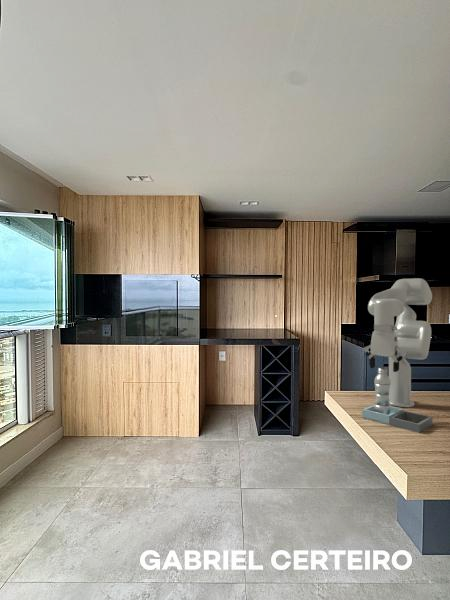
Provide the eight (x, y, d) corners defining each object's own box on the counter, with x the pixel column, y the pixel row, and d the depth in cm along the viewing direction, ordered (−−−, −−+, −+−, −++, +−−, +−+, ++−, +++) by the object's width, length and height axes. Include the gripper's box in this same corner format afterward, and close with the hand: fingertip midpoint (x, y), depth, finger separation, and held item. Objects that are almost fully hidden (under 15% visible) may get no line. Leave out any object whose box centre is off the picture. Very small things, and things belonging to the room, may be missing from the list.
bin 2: (403, 417, 148) (403, 410, 148) (432, 424, 139) (432, 416, 139) (389, 424, 138) (389, 417, 138) (419, 432, 130) (419, 424, 130)
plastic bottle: (389, 414, 149) (389, 367, 150) (391, 419, 143) (391, 370, 143) (373, 412, 152) (373, 366, 152) (374, 417, 145) (374, 369, 145)
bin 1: (377, 411, 156) (377, 403, 156) (403, 417, 148) (403, 409, 148) (362, 417, 146) (362, 409, 146) (389, 424, 138) (389, 416, 138)
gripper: (409, 329, 143) (409, 371, 144) (368, 327, 156) (368, 365, 157) (401, 331, 138) (401, 374, 139) (359, 328, 151) (359, 367, 152)
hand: (383, 369), depth 148 cm, fingers open, 9 cm apart
